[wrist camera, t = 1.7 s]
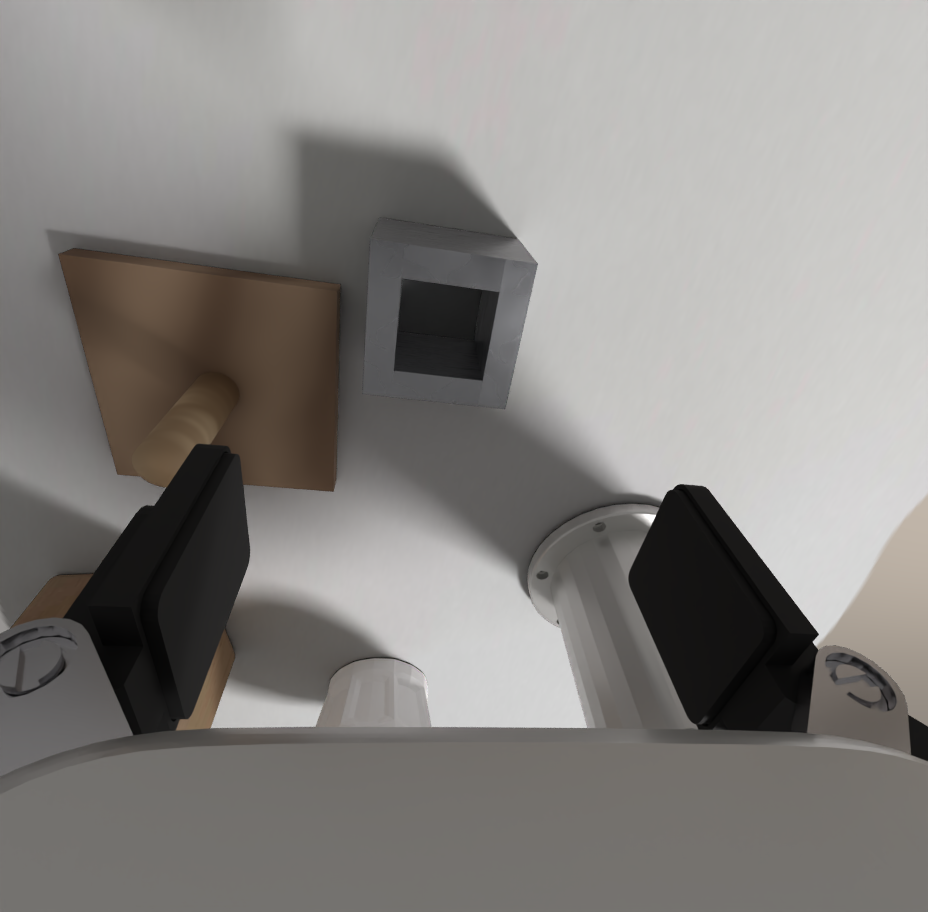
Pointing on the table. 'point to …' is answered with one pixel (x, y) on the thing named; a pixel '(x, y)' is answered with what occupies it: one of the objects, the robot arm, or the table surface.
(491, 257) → the collar
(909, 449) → the table surface
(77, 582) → the wooden block
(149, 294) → the post base
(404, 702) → the cup
